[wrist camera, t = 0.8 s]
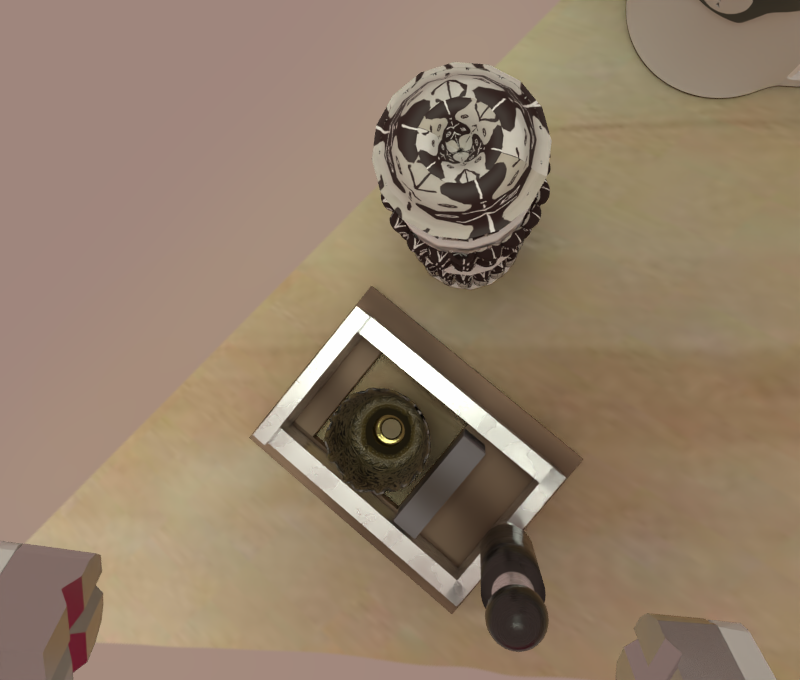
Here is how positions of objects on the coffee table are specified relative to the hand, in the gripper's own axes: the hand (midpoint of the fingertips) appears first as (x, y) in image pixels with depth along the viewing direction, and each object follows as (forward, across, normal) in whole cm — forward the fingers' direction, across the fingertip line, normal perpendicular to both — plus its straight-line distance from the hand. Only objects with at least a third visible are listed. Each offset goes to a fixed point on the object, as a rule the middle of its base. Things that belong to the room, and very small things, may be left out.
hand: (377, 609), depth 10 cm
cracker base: (+36, -7, +24) cm, 44 cm away
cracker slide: (+34, -7, +24) cm, 43 cm away
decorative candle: (+44, -9, +9) cm, 46 cm away
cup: (+37, -5, +24) cm, 44 cm away
